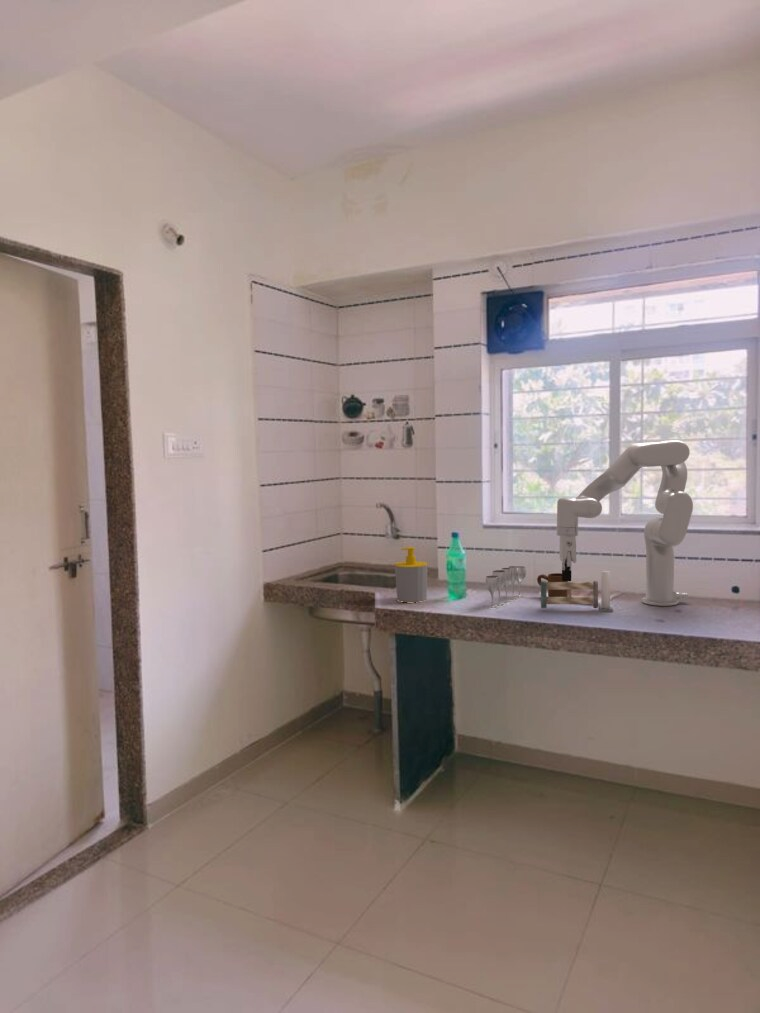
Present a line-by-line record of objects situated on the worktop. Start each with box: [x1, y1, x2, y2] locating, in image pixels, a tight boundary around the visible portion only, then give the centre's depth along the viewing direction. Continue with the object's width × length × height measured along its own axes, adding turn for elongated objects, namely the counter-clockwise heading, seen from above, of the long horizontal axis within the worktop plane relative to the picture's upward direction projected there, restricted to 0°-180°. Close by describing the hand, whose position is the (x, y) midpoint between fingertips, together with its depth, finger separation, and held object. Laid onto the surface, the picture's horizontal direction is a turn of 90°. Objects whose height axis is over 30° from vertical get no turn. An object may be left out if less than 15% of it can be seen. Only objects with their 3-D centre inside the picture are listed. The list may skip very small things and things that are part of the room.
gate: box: [540, 580, 599, 609], centre depth 247 cm, size 20×2×10 cm, turn 83°
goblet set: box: [485, 565, 527, 608], centre depth 263 cm, size 28×6×13 cm, turn 143°
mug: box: [536, 572, 569, 597], centre depth 268 cm, size 12×8×9 cm, turn 60°
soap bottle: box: [394, 546, 428, 602], centre depth 271 cm, size 13×13×21 cm
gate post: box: [598, 570, 614, 613], centre depth 245 cm, size 4×5×14 cm
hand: (566, 580), depth 253 cm, fingers closed
